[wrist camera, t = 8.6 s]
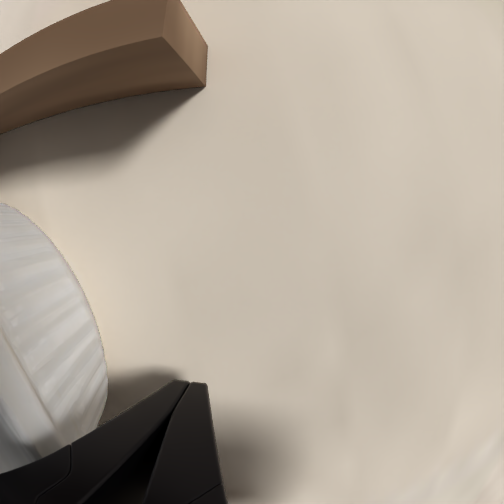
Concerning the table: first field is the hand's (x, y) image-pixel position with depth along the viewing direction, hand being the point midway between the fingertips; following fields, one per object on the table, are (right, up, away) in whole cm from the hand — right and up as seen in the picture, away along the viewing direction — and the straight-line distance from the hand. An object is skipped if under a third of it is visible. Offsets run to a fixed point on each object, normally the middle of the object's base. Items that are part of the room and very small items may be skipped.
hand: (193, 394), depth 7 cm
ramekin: (-8, +1, +2) cm, 8 cm away
